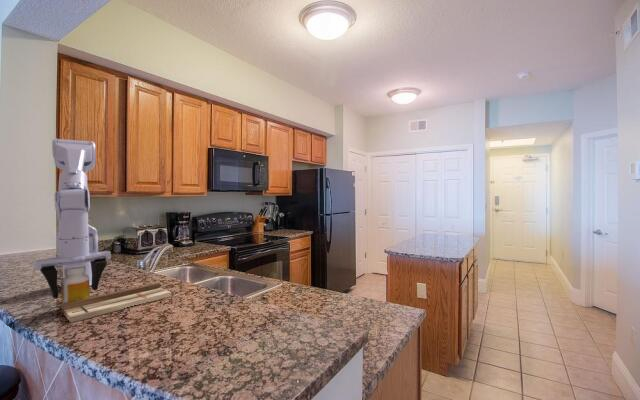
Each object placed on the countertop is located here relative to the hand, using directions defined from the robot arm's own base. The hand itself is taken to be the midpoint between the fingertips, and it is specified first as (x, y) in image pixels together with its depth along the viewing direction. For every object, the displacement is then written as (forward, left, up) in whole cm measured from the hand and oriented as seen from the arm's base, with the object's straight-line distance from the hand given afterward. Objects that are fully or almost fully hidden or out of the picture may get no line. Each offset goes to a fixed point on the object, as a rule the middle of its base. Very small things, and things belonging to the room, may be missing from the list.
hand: (75, 293), depth 74 cm
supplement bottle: (0, 0, -4) cm, 4 cm away
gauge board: (+7, +8, -3) cm, 11 cm away
